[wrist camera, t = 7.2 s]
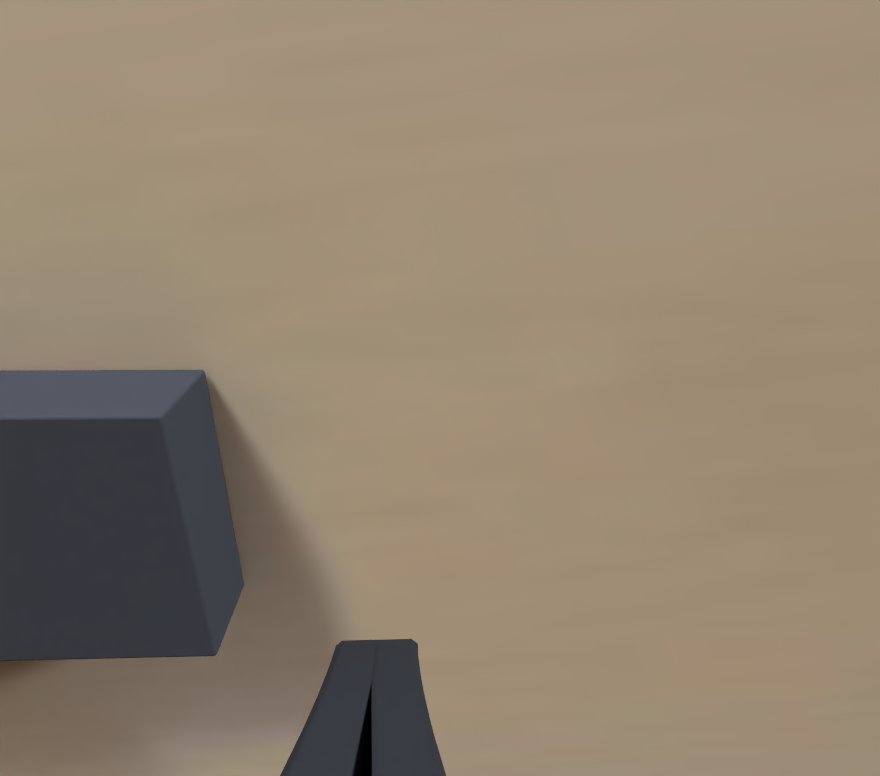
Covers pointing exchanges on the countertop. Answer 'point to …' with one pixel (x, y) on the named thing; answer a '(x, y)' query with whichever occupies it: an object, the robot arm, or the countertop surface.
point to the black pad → (112, 517)
